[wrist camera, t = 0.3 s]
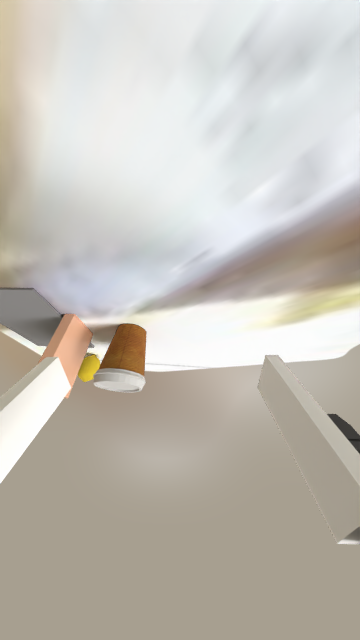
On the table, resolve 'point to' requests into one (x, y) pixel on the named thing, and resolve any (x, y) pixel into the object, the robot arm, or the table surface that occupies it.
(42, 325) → the mat
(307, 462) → the robot arm
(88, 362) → the lemon
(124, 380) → the disposable coffee cup
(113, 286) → the table surface
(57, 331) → the tile
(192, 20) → the table surface
